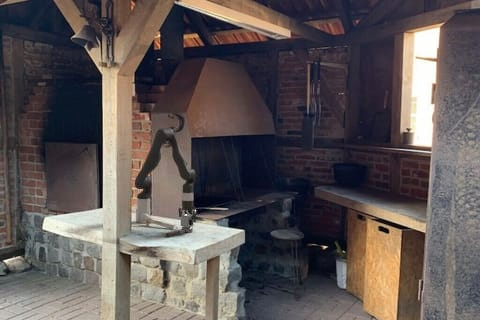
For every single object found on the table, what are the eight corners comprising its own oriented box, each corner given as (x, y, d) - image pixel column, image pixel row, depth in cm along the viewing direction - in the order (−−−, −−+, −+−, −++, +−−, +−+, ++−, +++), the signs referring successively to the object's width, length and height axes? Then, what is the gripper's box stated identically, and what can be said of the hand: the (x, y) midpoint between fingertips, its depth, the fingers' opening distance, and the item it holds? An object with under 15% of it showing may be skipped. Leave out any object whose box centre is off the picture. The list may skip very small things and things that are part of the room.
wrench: (175, 234, 296) (139, 224, 308) (177, 233, 298) (141, 223, 309) (177, 222, 295) (140, 213, 307) (178, 222, 297) (142, 212, 308)
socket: (180, 225, 290) (180, 216, 289) (186, 224, 295) (186, 214, 294) (187, 227, 287) (187, 217, 286) (193, 225, 292) (193, 216, 291)
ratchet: (163, 236, 278) (163, 224, 277) (186, 230, 296) (186, 218, 295) (171, 237, 274) (171, 225, 273) (194, 231, 292) (194, 220, 291)
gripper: (175, 198, 290) (175, 224, 292) (192, 201, 282) (191, 227, 284) (183, 197, 297) (182, 222, 298) (199, 199, 289) (199, 225, 290)
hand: (187, 224), depth 291 cm, fingers closed on socket, 6 cm apart
